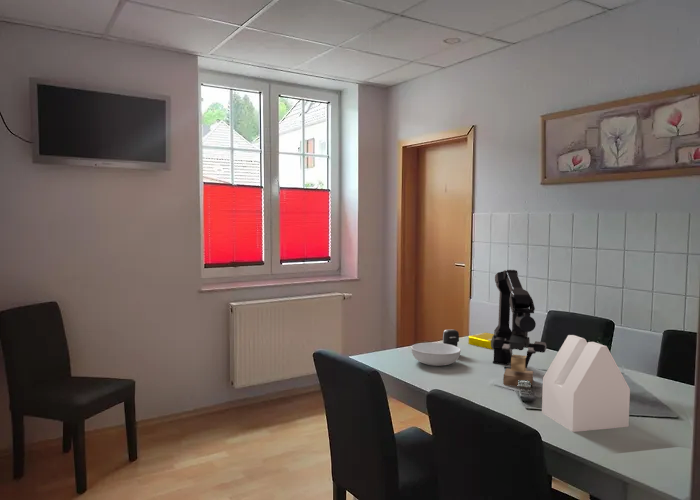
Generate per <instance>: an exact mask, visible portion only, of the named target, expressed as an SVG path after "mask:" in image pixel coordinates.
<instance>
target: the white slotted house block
mask: <svg viewBox="0 0 700 500" xmlns="http://www.w3.org/2000/svg"><path fill="white" fill-rule="evenodd" d="M541 394H542V396H541V397H542V399H541V403H542V404H541V414H543V415H544V416H546V417H548V418H549V419H551V420H553V421H554V422H556V423H557V424H559V425H560V426H563V428H565V429H567V430H568V431H570V432H573V433H574V432H584V431H585V432H586V431H587V432H588V431H597V430H607V429H619V428H627V427H628V428H629V427H630V425H629V420H630V400H631V399H630V398H631V389H630V386H629V385H628V383H627V381H626V379H625V377H624V375H623V374H622V372H621V369H620V368H619V366H618V365H617V363H616V361H615V359H614V357H613V355H612V354H611V352H610V350H609V348H608V346H607V345H605V344H604V345H603V344H602V343H598V342H595V341H588V342H587V339H585V338H584V337H580V336H578V335H575V334H568V335H567V336H566V338H565V339H564V342H563V343H562V345H561V347H559V350H558V352H557V353H556V354H555V357H554V358H553V360H552V362H551V363H550V365H549V367H548V368H547V370H546V372H545V374H544V376H543V377H542V393H541Z"/></svg>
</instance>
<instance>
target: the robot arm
mask: <svg viewBox="0 0 700 500" xmlns="http://www.w3.org/2000/svg"><path fill="white" fill-rule="evenodd" d="M518 275H519V271H518V270H516V269H505V270H503V271H500V272H497V273H495V276H494V282H495V286H496V287H497V290H498V292H499V297H498V298H499V299H498V300H499V303H498V325H497V326H496V327H495V328H494V331H493V334H494V335H493V337H492V340H491V347H492V348H493V349H492V350H493V360H492V363H493V364H499V365H509V364H510V366H511V357H512V356H513V350H518V351H523V350H524V349H526V348H527V349H528V350H527V351H526V356H527V357H526V368H528V366H529V362H530V360H531V357H532V356H533V354H536V353H545V352H546V350H547V343H546V342H545V341H534V342H533V343H532V342H530V341H531V339H530V337H529V336H528V335H529V334H528V333H530V332H532V331H534V329H536V326H537V324H536V320H535V318H533V317H532V316H531V314H535V310H536V308H535V304H534V300H533V298H532V296H531V294H530V293H529V291H528V290H526V289H524V288H523V285H522V283H521V281H520V278H519V276H518ZM511 312H512V318H510V315H511ZM510 319H511V328H510Z"/></svg>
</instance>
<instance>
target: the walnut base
mask: <svg viewBox="0 0 700 500" xmlns="http://www.w3.org/2000/svg"><path fill="white" fill-rule="evenodd" d="M502 380H503V381H502V385H503V384H504V385H503V386H510V385H511V386H512V387H518V386H517V385H518V380H528V381H530V383H531V385H532V386H533V383H534V371H533V370H527V369H526V371H525V372H519V371H511V368H509V367H508V368H505V370H504V373H503V379H502ZM511 386H510V387H511Z"/></svg>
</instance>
